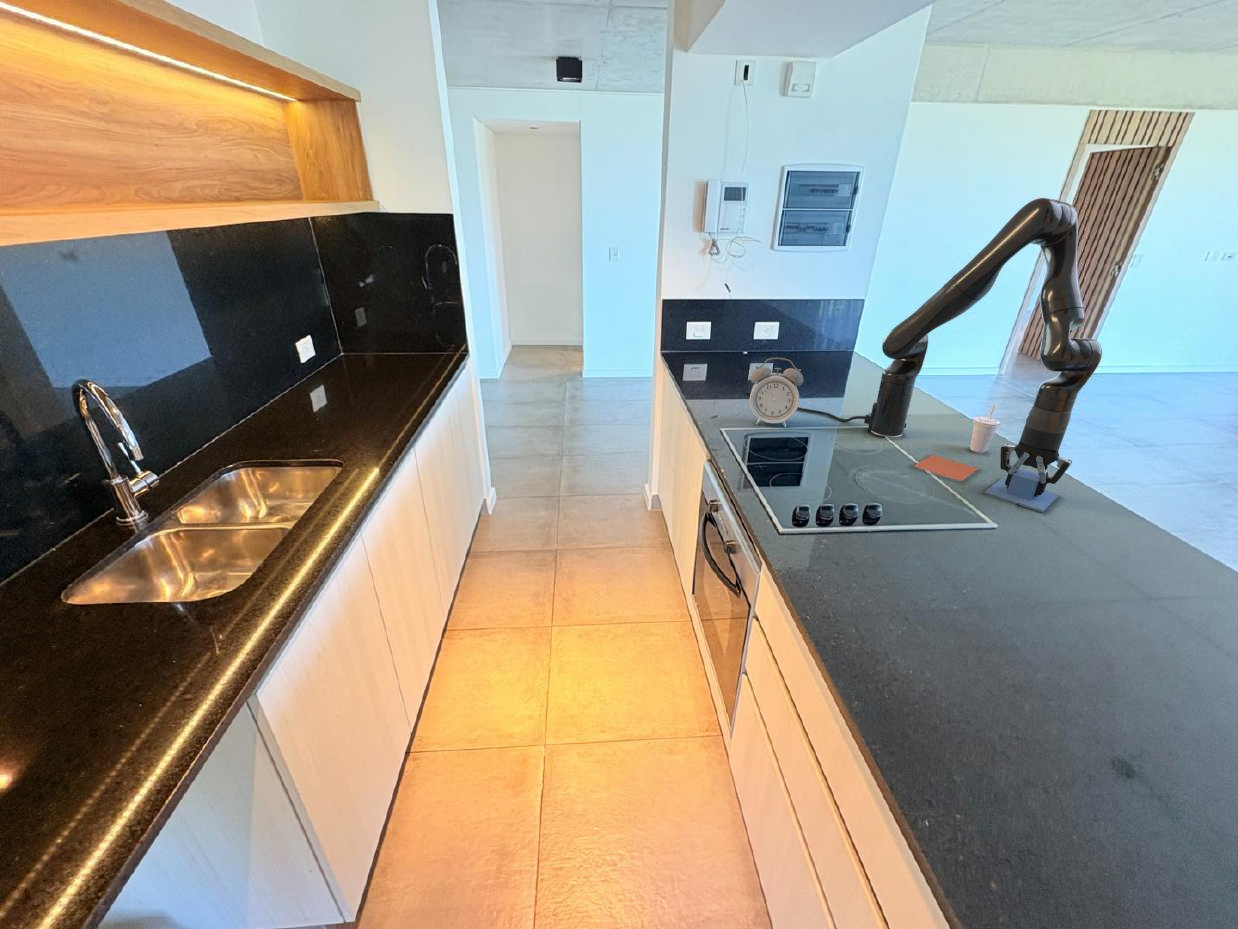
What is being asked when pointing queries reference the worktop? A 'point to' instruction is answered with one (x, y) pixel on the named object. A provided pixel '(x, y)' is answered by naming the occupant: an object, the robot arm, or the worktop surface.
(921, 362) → the robot arm
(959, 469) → the terracotta mat
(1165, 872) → the worktop surface
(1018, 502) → the blue mat
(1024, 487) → the blue block
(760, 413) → the alarm clock
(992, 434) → the smoothie
